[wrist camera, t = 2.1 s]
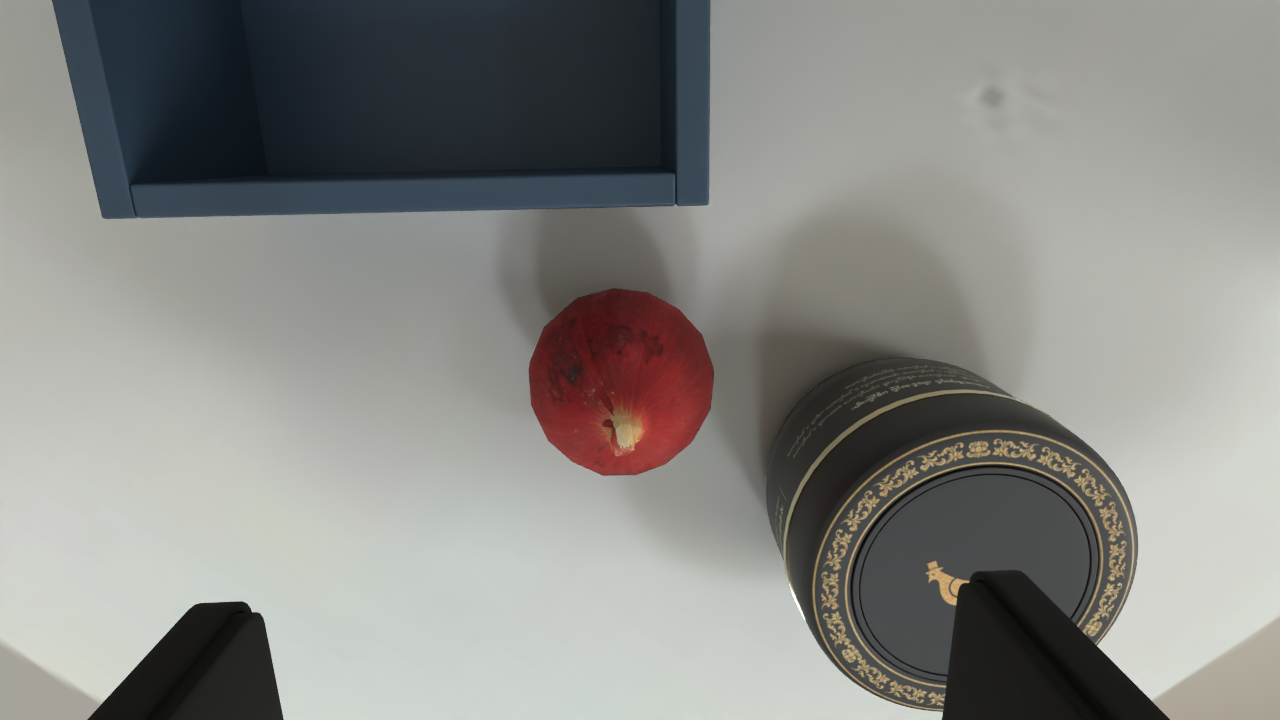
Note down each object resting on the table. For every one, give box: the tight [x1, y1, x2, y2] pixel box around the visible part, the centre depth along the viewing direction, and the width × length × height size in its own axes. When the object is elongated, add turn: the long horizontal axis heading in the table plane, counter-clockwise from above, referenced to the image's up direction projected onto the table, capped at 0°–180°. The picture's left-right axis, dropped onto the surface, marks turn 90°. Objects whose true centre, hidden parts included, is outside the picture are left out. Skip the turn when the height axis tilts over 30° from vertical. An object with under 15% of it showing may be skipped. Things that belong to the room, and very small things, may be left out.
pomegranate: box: [529, 288, 714, 476], centre depth 22 cm, size 6×6×8 cm
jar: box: [766, 358, 1138, 712], centre depth 24 cm, size 10×10×8 cm
